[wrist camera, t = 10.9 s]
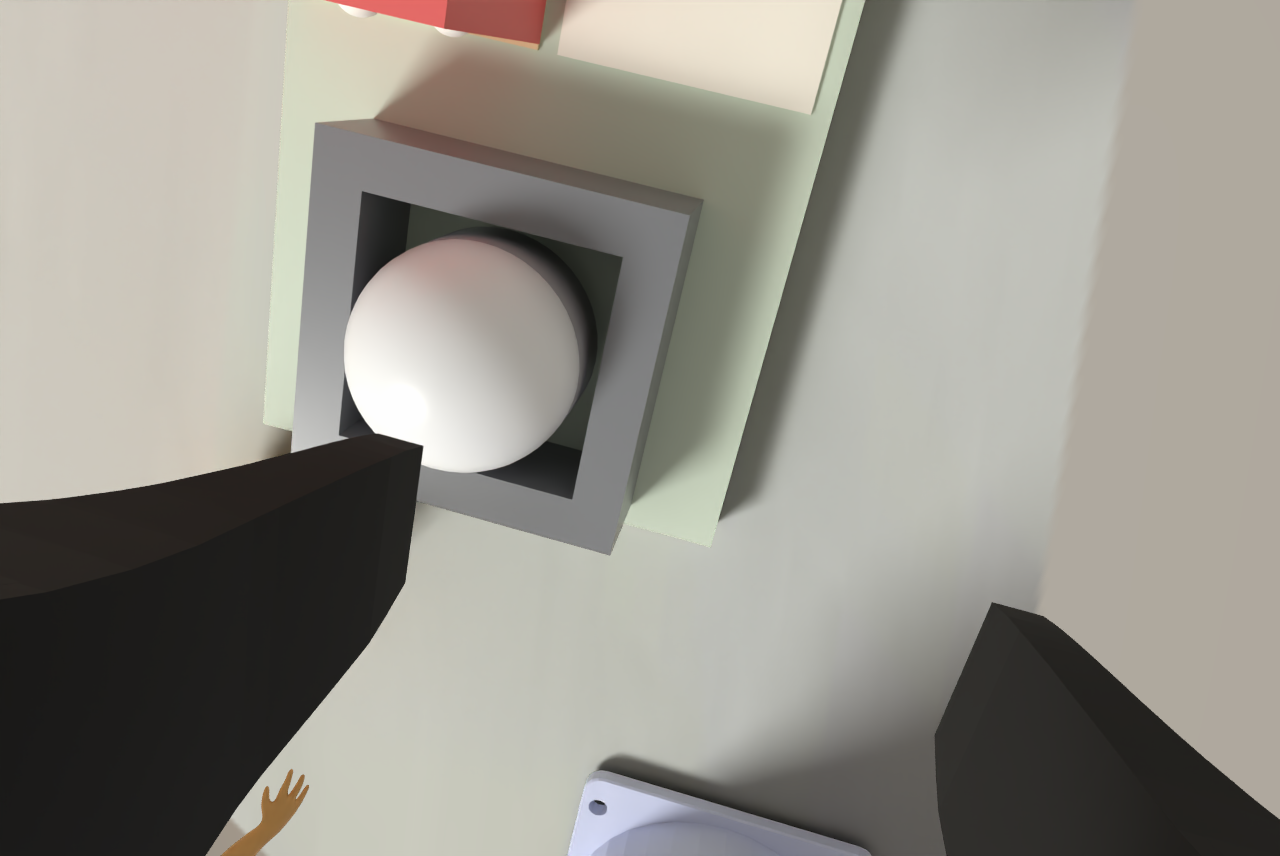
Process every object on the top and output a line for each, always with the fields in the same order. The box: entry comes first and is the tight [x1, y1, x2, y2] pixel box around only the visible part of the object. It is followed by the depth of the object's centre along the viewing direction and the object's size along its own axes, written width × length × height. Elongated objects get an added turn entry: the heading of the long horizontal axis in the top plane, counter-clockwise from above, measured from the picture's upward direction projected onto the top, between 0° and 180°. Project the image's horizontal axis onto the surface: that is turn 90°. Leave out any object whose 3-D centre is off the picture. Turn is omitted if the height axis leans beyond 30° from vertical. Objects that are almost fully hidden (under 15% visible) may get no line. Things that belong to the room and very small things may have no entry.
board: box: [263, 0, 865, 547], centre depth 19 cm, size 16×11×1 cm
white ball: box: [344, 227, 597, 473], centre depth 17 cm, size 4×4×4 cm
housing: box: [291, 118, 704, 555], centre depth 18 cm, size 7×7×2 cm
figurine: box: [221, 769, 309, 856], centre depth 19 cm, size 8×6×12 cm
